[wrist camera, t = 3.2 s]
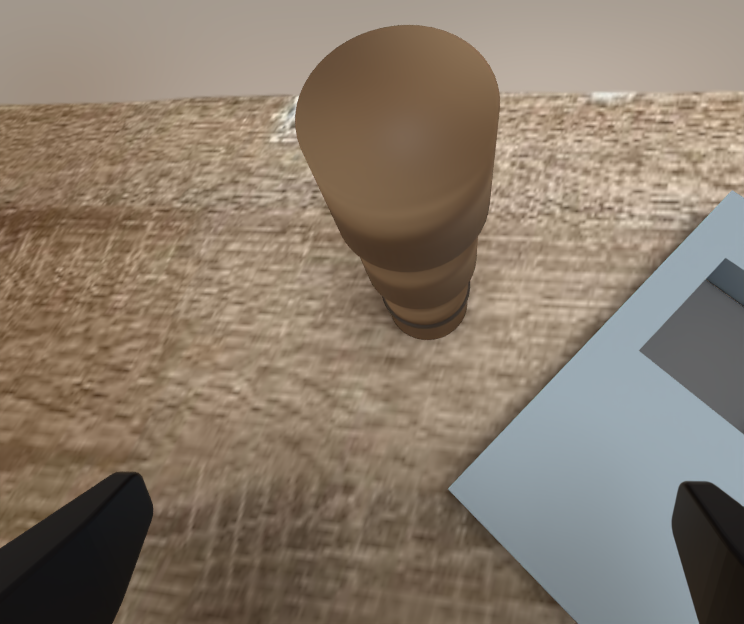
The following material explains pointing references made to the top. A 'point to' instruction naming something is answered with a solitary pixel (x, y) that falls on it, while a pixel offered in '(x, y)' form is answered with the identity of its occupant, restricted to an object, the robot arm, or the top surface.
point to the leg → (406, 163)
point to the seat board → (627, 440)
